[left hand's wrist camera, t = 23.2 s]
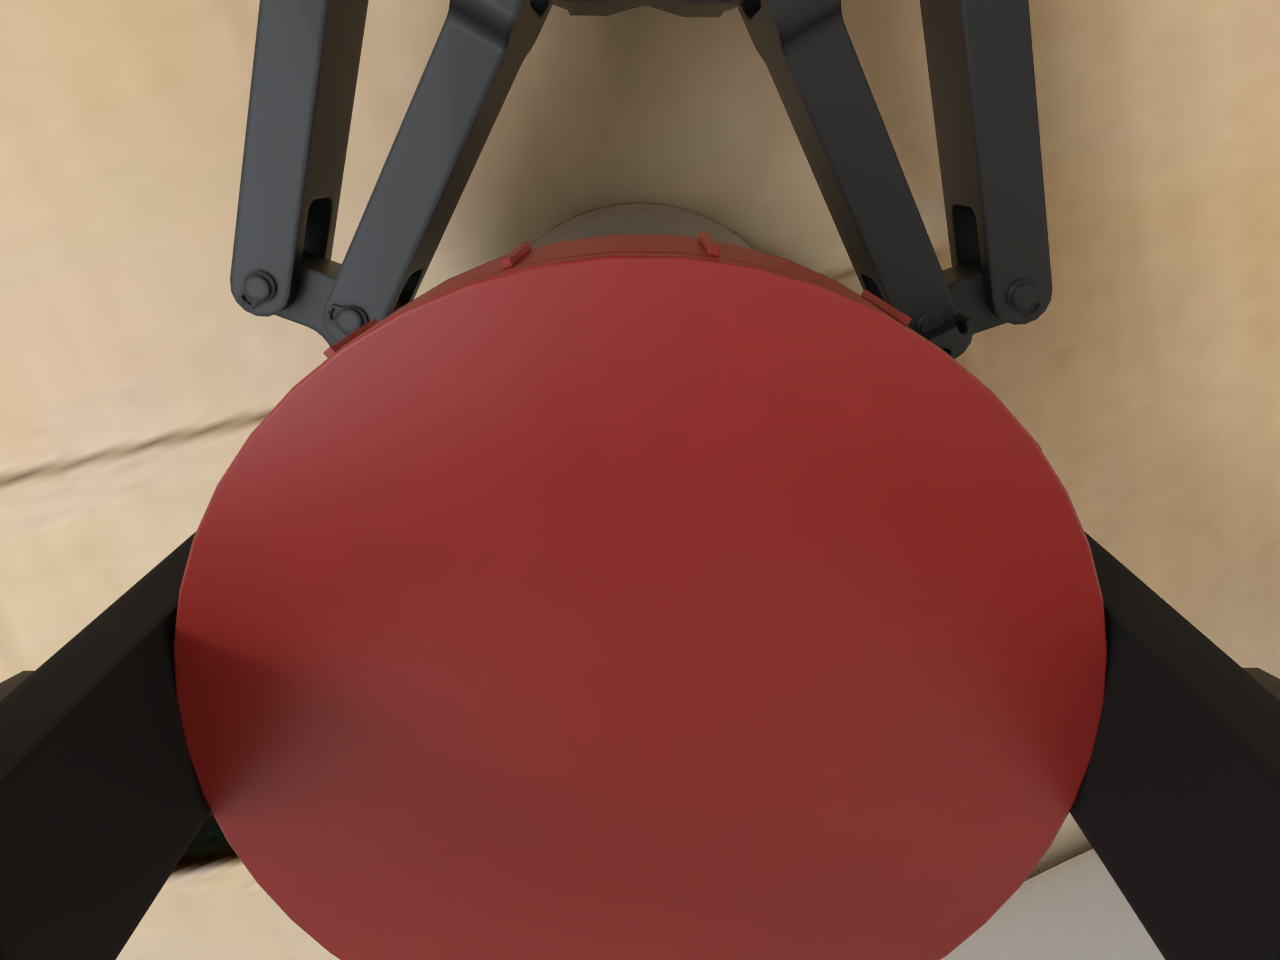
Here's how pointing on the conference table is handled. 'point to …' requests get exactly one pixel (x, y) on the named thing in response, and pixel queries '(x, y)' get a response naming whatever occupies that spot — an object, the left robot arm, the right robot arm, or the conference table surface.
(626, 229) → the jar
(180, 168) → the conference table surface
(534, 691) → the lid
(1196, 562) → the conference table surface
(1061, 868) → the projector
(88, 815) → the left robot arm
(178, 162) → the conference table surface
